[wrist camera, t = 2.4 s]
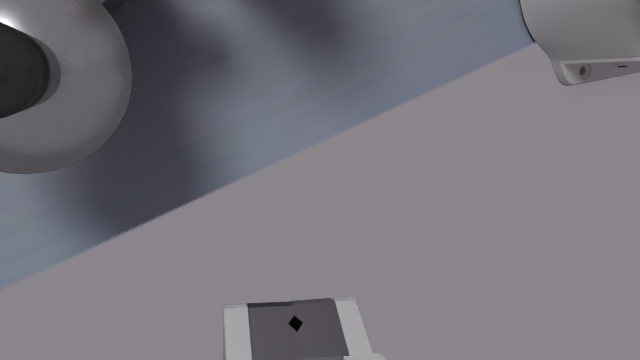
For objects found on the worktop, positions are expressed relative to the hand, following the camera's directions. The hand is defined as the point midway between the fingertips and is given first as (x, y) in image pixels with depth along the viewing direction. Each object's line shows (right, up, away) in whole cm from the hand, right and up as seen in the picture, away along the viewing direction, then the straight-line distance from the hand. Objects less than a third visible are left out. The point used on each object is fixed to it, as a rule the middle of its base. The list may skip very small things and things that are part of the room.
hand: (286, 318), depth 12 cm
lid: (-14, +9, +15) cm, 22 cm away
